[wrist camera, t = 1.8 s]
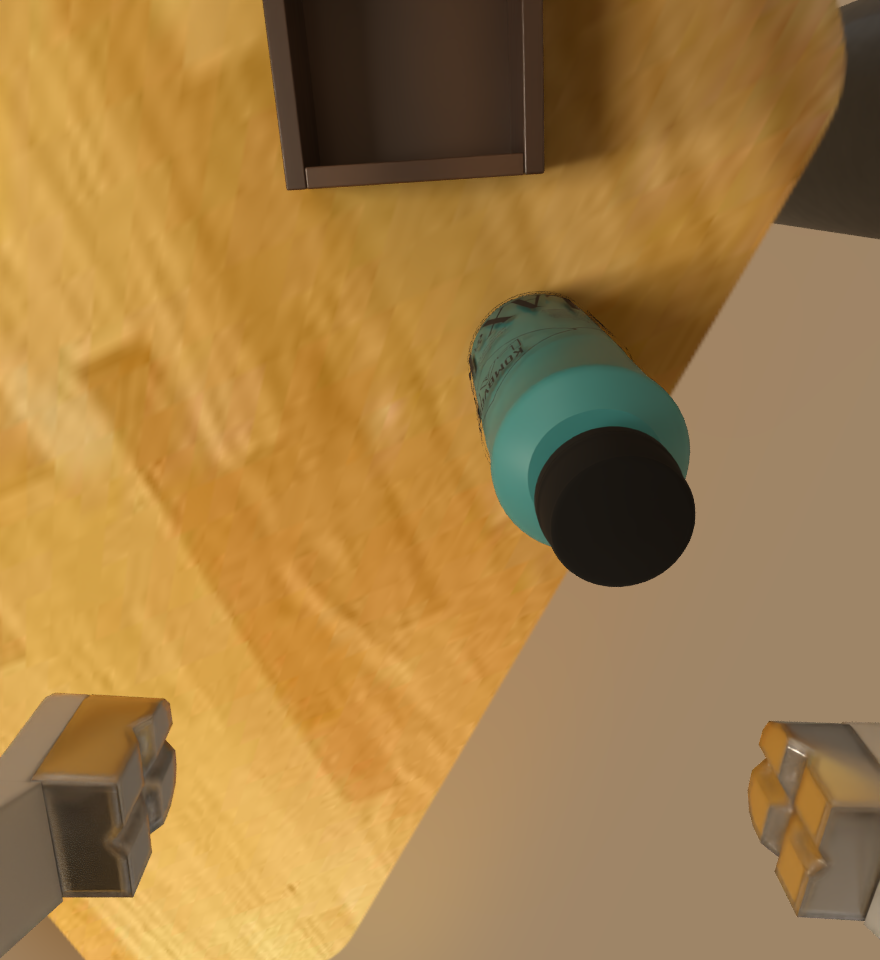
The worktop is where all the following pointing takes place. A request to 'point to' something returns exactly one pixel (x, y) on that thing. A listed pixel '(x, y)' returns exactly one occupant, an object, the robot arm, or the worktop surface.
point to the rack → (406, 89)
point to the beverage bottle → (581, 442)
